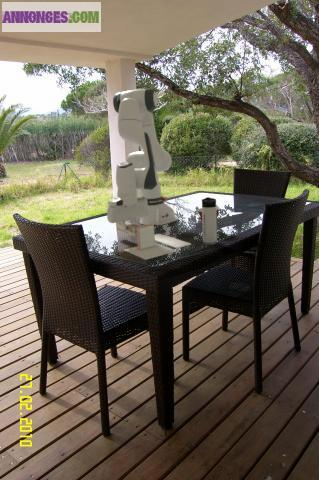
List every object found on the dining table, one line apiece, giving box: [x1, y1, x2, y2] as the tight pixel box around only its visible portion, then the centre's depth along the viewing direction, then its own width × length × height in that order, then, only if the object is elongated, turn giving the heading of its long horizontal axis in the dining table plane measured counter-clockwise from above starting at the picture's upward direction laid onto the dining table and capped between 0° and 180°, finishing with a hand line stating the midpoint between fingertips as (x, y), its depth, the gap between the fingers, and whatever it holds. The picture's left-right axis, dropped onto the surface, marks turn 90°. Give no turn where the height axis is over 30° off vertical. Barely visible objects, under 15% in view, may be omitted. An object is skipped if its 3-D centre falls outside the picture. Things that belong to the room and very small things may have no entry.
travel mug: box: [201, 196, 218, 246], centre depth 175 cm, size 6×7×20 cm
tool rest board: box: [154, 233, 192, 249], centre depth 181 cm, size 8×24×1 cm, turn 35°
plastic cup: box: [197, 206, 221, 224], centre depth 193 cm, size 11×11×12 cm
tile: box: [136, 224, 156, 250], centre depth 171 cm, size 8×2×10 cm, turn 125°
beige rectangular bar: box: [115, 221, 141, 238], centre depth 182 cm, size 6×19×4 cm, turn 34°
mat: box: [123, 242, 177, 260], centre depth 169 cm, size 16×18×1 cm
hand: (129, 229), depth 182 cm, fingers closed on beige rectangular bar, 3 cm apart
